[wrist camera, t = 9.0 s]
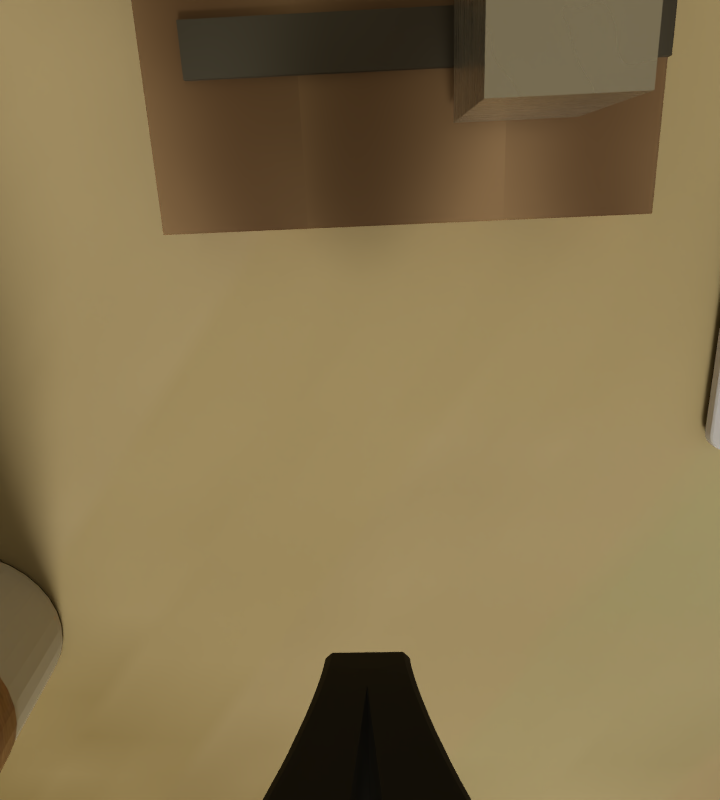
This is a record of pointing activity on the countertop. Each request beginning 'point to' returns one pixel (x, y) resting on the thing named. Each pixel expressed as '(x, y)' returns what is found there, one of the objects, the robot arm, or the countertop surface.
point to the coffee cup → (23, 651)
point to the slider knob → (551, 56)
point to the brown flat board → (363, 123)
